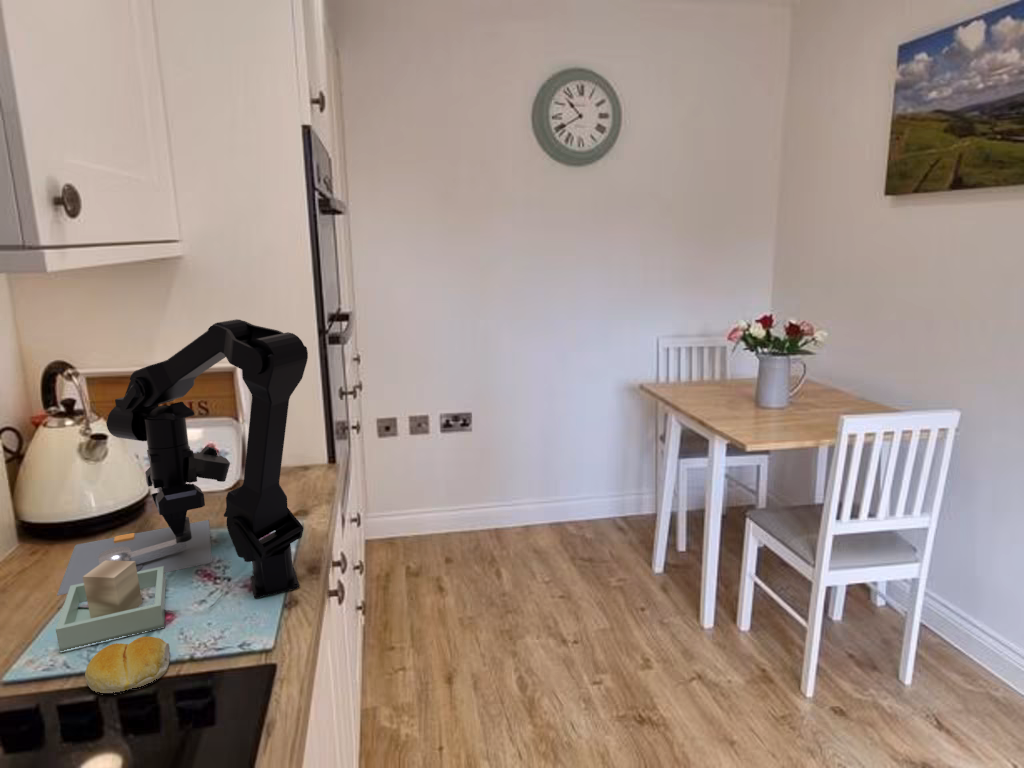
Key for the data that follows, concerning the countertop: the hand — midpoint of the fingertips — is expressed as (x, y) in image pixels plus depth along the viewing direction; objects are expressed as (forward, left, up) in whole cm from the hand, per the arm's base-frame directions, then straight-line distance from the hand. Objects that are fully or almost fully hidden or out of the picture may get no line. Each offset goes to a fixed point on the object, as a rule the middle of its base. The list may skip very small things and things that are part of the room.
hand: (179, 536), depth 107 cm
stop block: (-13, +8, -4) cm, 16 cm away
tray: (-13, +8, -5) cm, 16 cm away
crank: (+1, +5, -3) cm, 6 cm away
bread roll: (-28, +6, -5) cm, 29 cm away
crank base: (+5, +6, -5) cm, 9 cm away
